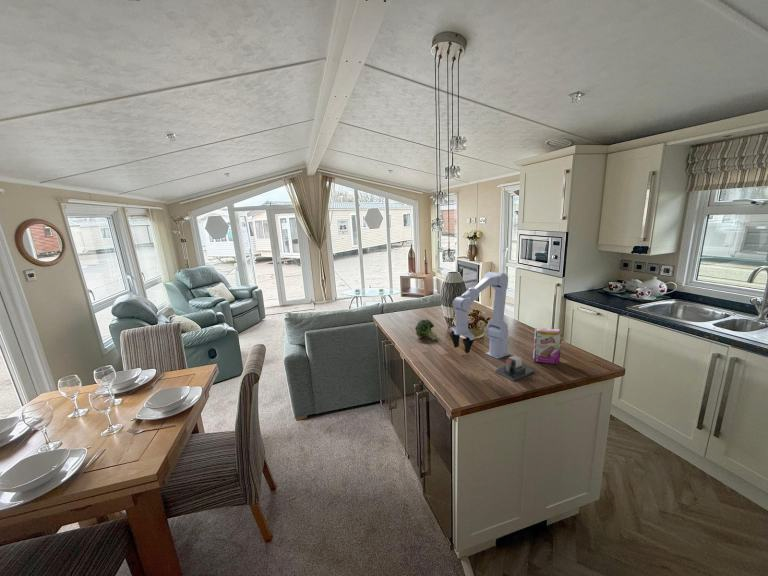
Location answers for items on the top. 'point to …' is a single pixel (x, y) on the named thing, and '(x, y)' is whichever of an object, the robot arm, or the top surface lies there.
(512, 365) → the layered white box
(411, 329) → the top surface
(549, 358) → the candy bar box
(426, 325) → the vegetable
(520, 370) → the stand base
